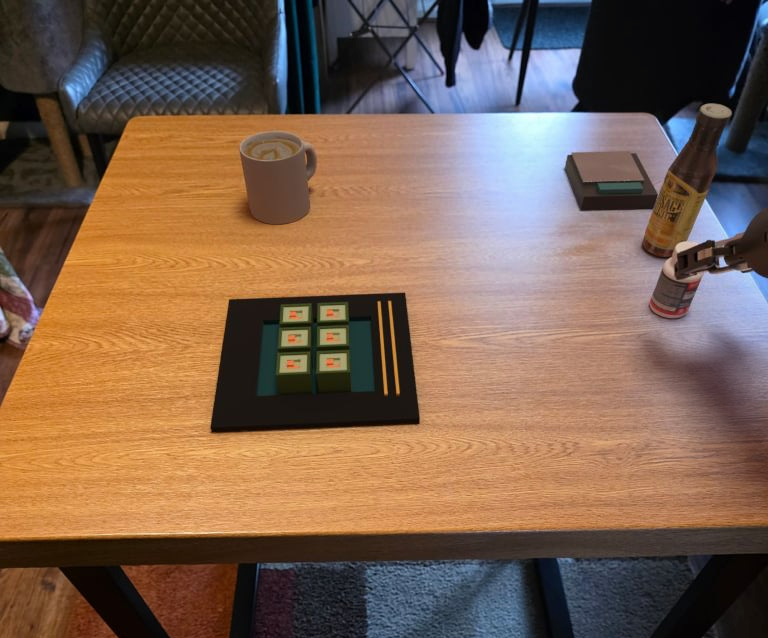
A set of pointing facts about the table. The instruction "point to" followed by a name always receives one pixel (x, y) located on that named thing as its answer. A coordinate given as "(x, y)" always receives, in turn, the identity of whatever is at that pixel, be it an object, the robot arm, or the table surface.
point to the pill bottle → (674, 288)
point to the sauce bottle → (686, 183)
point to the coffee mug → (277, 175)
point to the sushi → (315, 363)
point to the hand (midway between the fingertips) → (710, 267)
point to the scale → (609, 181)
